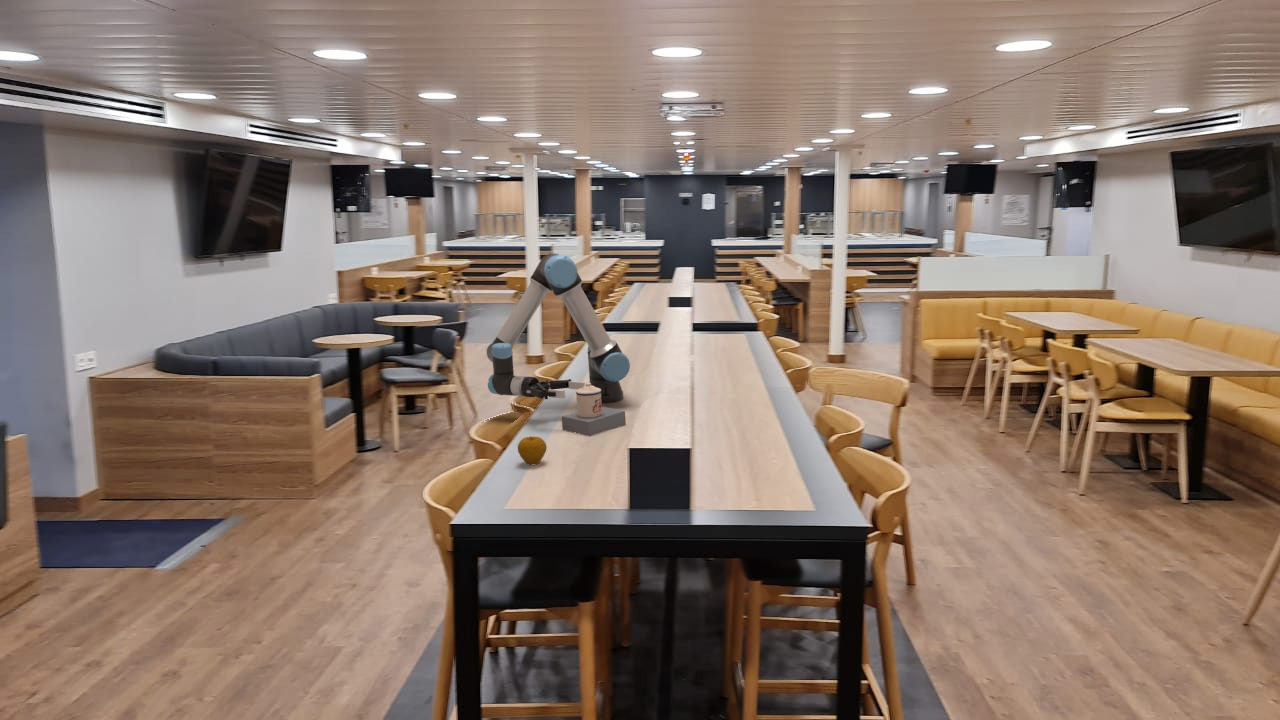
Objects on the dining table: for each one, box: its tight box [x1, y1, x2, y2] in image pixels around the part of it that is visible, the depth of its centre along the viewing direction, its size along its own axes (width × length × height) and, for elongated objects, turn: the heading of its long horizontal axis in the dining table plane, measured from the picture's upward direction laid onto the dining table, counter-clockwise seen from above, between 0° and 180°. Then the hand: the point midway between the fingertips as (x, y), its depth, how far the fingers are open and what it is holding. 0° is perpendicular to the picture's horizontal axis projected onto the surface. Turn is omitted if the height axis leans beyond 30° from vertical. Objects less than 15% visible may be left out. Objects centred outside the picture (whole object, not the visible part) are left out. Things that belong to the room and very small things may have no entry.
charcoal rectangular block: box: [561, 406, 626, 437], centre depth 316 cm, size 18×14×5 cm
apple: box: [517, 435, 548, 466], centre depth 276 cm, size 9×9×9 cm
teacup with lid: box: [575, 382, 603, 418], centre depth 314 cm, size 12×9×12 cm
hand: (574, 390), depth 317 cm, fingers open, 13 cm apart
